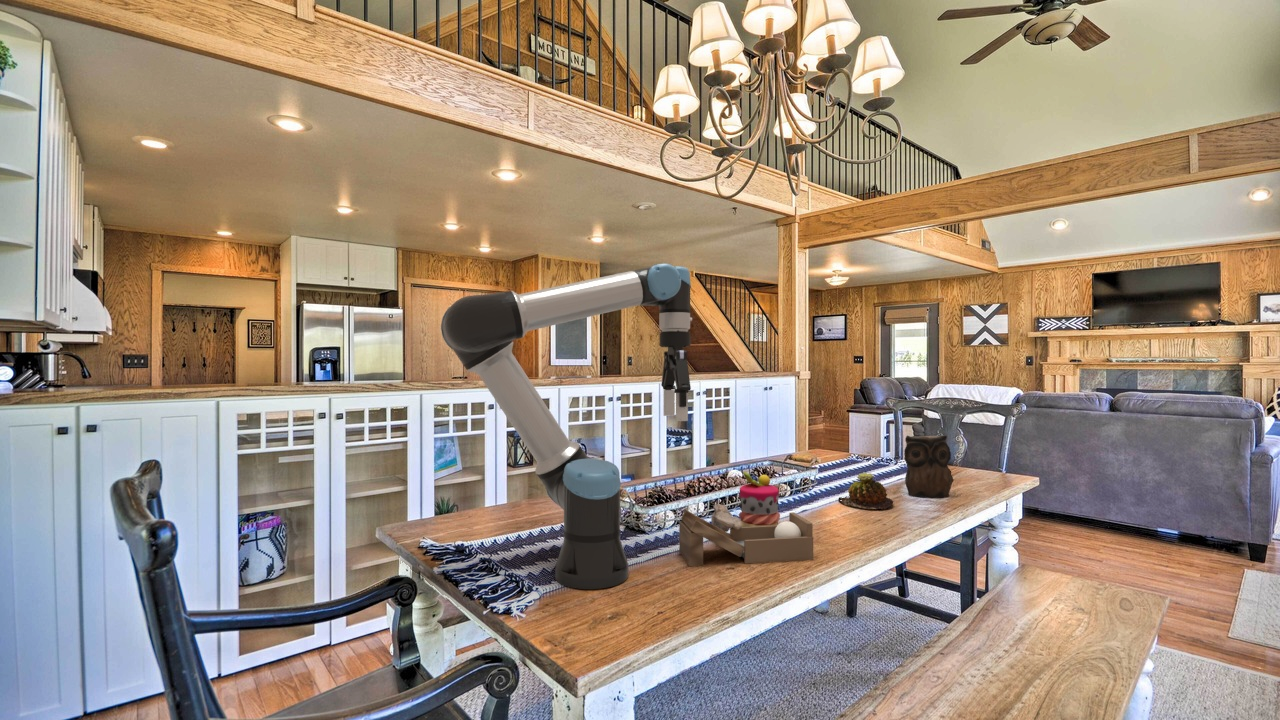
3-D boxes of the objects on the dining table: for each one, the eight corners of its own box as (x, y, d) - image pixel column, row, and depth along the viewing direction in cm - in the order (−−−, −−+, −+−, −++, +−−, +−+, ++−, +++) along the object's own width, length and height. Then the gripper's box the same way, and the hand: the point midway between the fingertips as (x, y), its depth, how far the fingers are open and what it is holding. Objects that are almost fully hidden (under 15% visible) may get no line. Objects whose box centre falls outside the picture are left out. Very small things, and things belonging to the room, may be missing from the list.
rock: (722, 537, 139) (708, 508, 141) (715, 537, 153) (703, 511, 155) (744, 526, 140) (730, 497, 142) (736, 527, 154) (723, 501, 156)
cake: (766, 521, 166) (766, 467, 166) (787, 532, 156) (787, 474, 156) (732, 525, 162) (732, 470, 162) (751, 536, 152) (751, 477, 152)
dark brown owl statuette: (954, 496, 196) (954, 435, 196) (934, 501, 189) (934, 438, 189) (917, 489, 206) (917, 431, 206) (897, 494, 199) (897, 434, 199)
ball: (807, 547, 135) (805, 522, 139) (787, 540, 133) (785, 514, 137) (789, 554, 139) (787, 529, 143) (769, 547, 137) (768, 522, 141)
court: (745, 563, 132) (745, 527, 132) (729, 548, 142) (729, 515, 142) (813, 559, 134) (813, 523, 134) (793, 545, 145) (793, 512, 145)
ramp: (689, 566, 130) (689, 521, 130) (679, 552, 140) (679, 510, 140) (745, 562, 132) (745, 518, 132) (731, 549, 142) (731, 507, 142)
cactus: (833, 497, 196) (833, 467, 196) (883, 498, 194) (883, 468, 194) (845, 510, 179) (845, 478, 179) (900, 512, 177) (900, 479, 177)
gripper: (704, 328, 134) (704, 423, 134) (678, 333, 159) (678, 413, 159) (671, 328, 133) (671, 423, 133) (650, 333, 157) (650, 413, 157)
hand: (675, 418), depth 146 cm, fingers open, 13 cm apart
